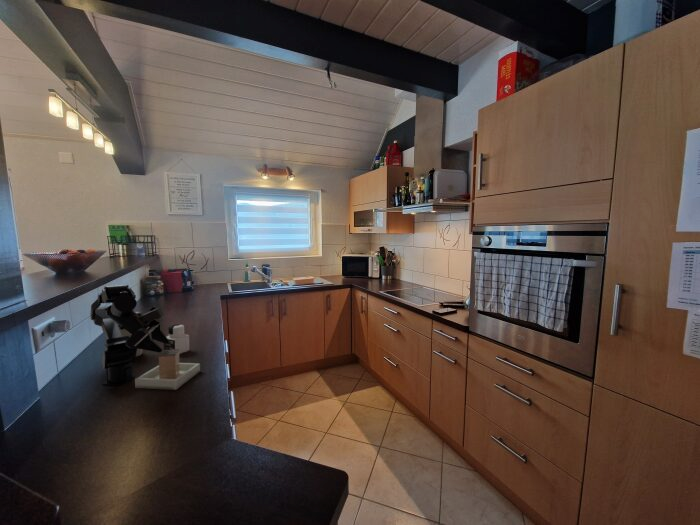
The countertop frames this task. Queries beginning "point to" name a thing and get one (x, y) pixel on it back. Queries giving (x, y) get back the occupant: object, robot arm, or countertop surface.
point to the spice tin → (169, 364)
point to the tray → (154, 382)
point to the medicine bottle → (177, 339)
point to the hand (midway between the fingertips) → (165, 347)
